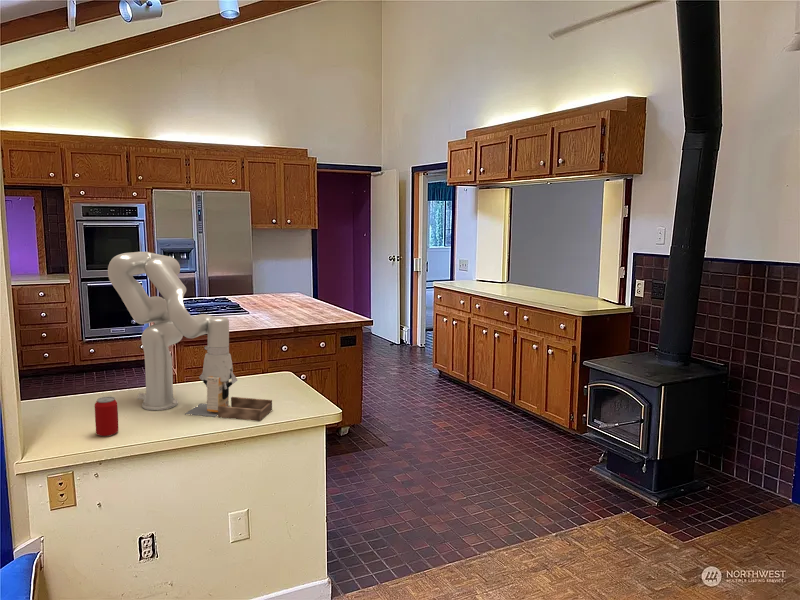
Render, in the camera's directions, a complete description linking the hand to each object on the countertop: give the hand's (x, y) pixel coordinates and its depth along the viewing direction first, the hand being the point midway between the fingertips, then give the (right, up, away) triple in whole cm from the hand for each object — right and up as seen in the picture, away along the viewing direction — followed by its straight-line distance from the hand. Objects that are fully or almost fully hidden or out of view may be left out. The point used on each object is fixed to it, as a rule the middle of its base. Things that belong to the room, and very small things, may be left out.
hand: (218, 397), depth 219 cm
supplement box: (0, -5, +1) cm, 5 cm away
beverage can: (-29, -8, -24) cm, 39 cm away
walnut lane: (+11, -6, -1) cm, 12 cm away
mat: (-4, -5, +1) cm, 7 cm away
